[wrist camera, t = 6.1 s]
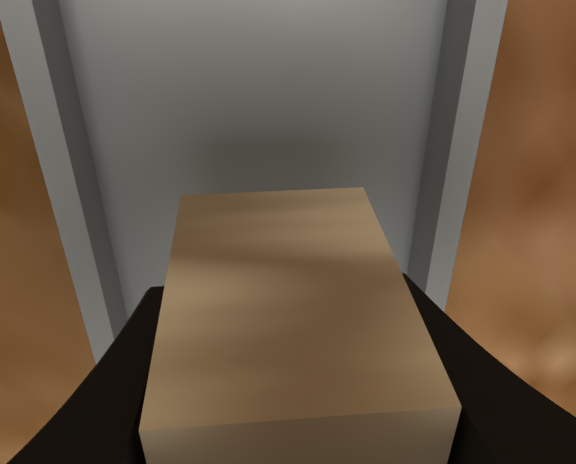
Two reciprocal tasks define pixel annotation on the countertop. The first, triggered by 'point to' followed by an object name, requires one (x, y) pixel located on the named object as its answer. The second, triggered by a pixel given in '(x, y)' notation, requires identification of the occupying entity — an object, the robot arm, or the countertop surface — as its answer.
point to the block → (291, 340)
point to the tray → (248, 121)
